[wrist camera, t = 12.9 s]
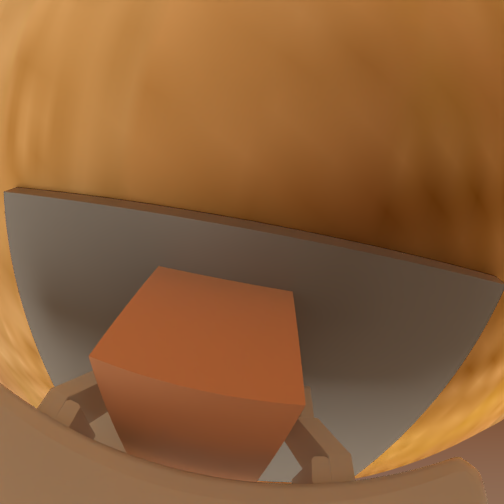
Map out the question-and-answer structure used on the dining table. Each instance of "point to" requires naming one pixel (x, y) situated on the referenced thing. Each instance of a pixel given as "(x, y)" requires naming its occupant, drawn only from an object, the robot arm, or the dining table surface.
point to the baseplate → (262, 274)
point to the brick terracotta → (203, 373)
